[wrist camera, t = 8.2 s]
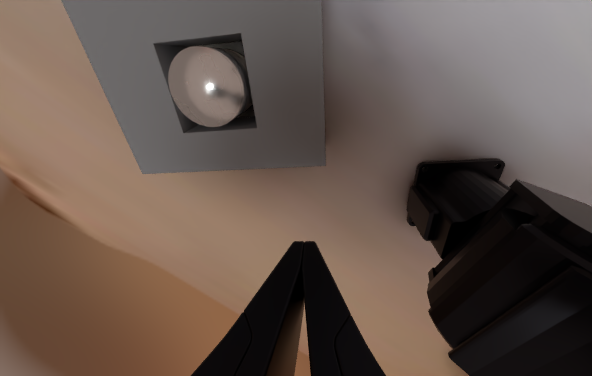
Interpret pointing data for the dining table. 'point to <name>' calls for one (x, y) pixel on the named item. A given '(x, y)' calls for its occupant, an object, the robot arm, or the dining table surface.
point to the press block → (202, 31)
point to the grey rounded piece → (210, 84)
